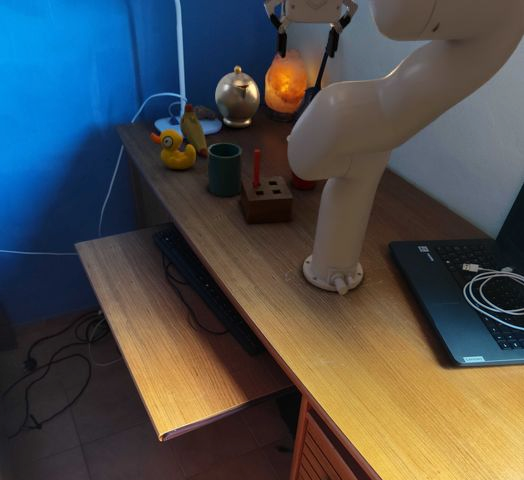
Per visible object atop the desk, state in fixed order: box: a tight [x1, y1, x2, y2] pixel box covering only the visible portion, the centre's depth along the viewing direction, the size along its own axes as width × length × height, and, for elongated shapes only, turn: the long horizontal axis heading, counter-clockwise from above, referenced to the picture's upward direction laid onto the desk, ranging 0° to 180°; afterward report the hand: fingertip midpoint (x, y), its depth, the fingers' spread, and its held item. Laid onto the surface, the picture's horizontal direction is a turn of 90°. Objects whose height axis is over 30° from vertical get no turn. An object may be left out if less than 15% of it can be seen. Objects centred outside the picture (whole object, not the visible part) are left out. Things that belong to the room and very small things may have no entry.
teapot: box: [214, 65, 261, 129], centre depth 143 cm, size 18×14×16 cm
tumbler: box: [207, 142, 243, 198], centre depth 116 cm, size 8×8×10 cm
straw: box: [253, 149, 261, 186], centre depth 109 cm, size 1×1×14 cm
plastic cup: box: [286, 134, 317, 190], centre depth 119 cm, size 11×11×12 cm
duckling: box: [150, 128, 197, 170], centre depth 123 cm, size 11×5×10 cm, turn 86°
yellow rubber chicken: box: [179, 103, 208, 157], centre depth 133 cm, size 20×5×10 cm, turn 24°
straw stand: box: [240, 175, 294, 225], centre depth 111 cm, size 10×10×6 cm
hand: (306, 55), depth 90 cm, fingers open, 9 cm apart
